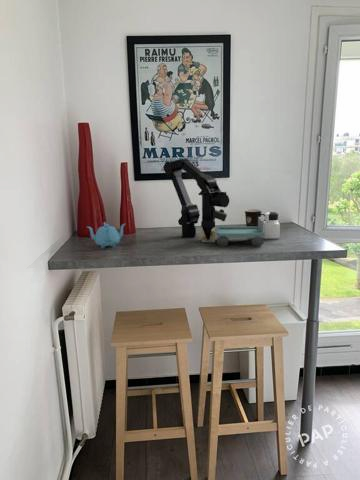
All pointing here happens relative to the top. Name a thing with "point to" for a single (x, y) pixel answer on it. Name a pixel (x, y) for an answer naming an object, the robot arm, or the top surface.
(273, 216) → the medicine bottle
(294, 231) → the top surface
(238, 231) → the teal toy wagon
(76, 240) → the top surface
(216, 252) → the top surface
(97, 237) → the teapot
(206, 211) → the robot arm
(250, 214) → the coffee mug
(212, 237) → the block
